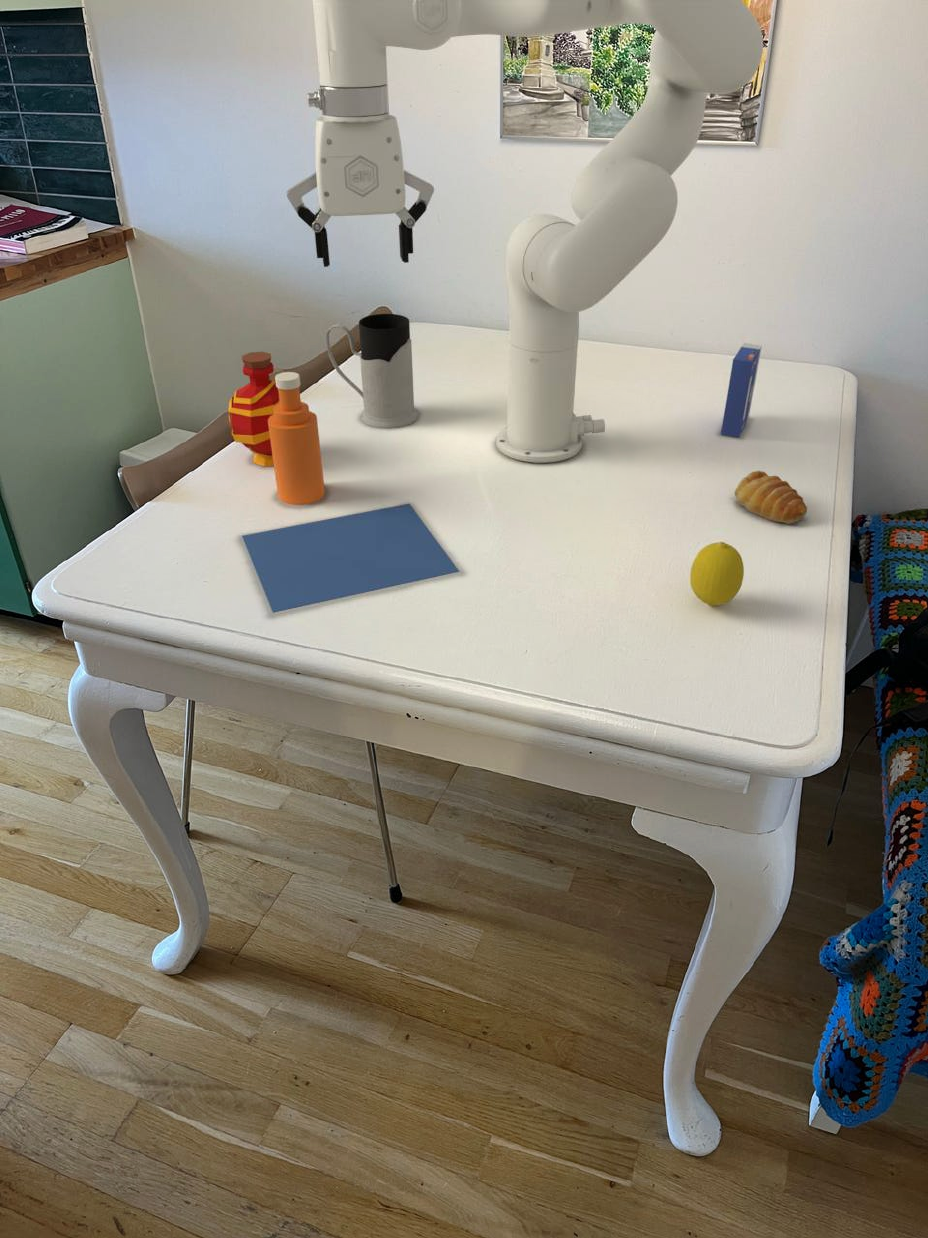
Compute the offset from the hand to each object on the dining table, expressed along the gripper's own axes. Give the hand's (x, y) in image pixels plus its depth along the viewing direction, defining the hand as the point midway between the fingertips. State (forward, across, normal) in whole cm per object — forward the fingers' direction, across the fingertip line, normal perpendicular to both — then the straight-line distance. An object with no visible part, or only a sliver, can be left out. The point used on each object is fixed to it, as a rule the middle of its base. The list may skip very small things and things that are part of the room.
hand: (365, 261), depth 113 cm
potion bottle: (+28, -15, +7) cm, 33 cm away
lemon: (+28, +33, -40) cm, 59 cm away
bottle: (+28, -11, -6) cm, 31 cm away
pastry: (+28, +49, -20) cm, 60 cm away
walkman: (+28, +55, +5) cm, 62 cm away
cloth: (+28, -6, -22) cm, 36 cm away
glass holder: (+28, +1, +20) cm, 35 cm away
